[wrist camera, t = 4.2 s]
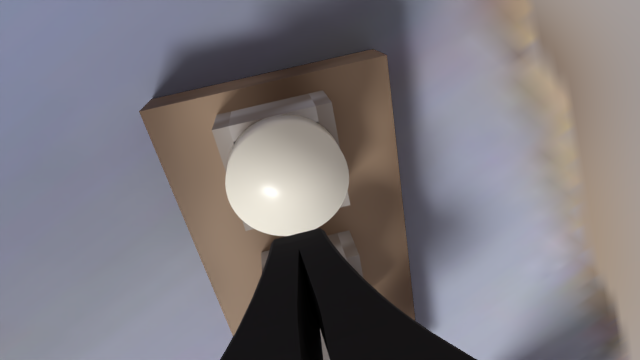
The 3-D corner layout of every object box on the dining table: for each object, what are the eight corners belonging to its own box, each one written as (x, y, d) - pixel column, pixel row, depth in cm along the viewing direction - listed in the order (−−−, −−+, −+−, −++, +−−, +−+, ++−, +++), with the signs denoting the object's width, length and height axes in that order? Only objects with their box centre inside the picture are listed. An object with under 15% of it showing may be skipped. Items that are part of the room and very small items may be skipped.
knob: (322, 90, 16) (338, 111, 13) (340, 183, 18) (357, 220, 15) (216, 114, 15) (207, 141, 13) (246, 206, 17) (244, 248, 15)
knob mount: (373, 49, 17) (419, 69, 12) (409, 350, 26) (444, 429, 21) (151, 99, 17) (109, 140, 12) (266, 389, 26) (269, 479, 21)
